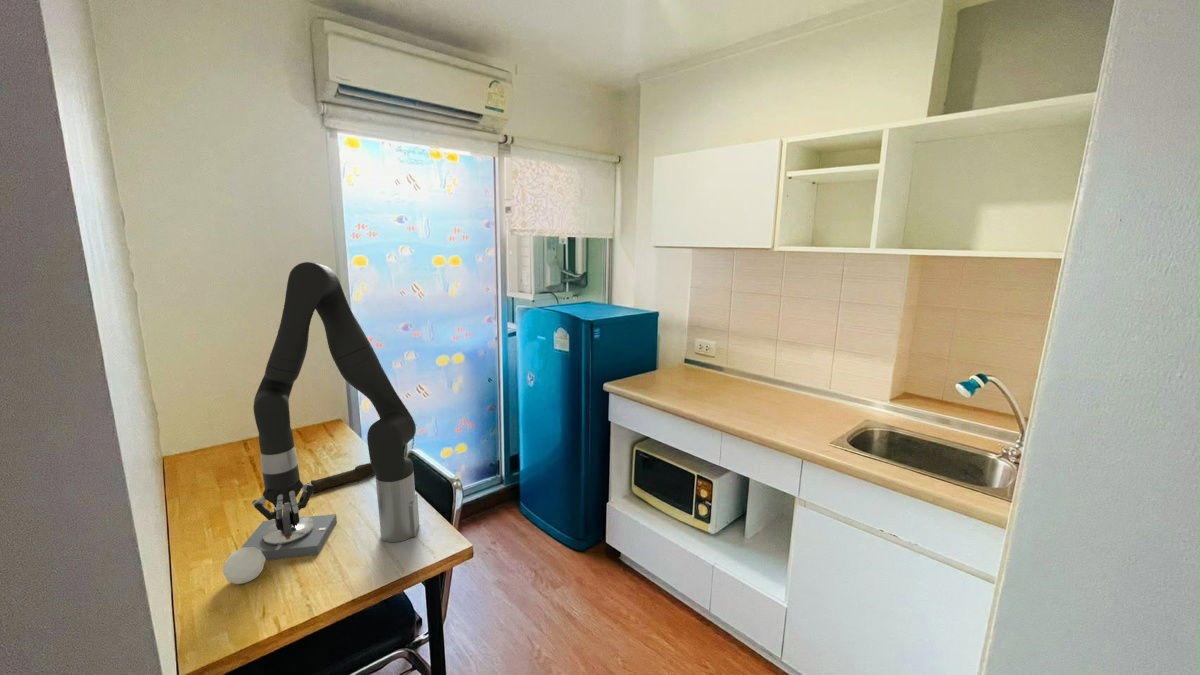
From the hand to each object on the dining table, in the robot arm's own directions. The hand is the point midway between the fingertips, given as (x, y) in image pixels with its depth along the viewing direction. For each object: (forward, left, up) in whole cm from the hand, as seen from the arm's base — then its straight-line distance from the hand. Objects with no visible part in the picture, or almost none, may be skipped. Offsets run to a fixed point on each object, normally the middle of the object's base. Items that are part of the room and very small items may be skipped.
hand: (288, 527), depth 122 cm
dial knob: (0, 0, -1) cm, 1 cm away
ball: (+4, +13, -4) cm, 15 cm away
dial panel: (0, 0, -4) cm, 4 cm away
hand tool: (-4, -31, -5) cm, 31 cm away
